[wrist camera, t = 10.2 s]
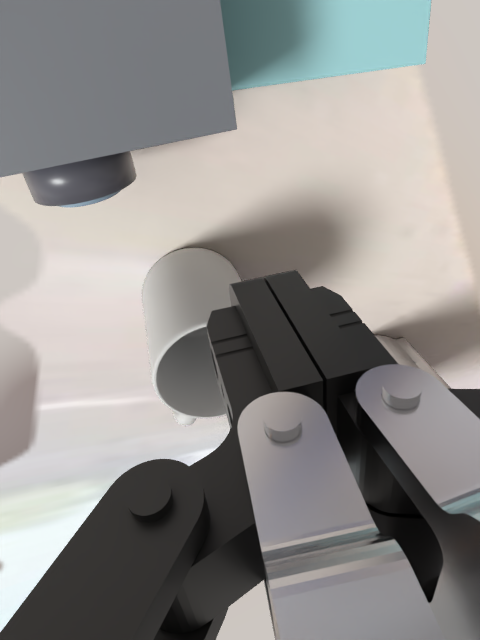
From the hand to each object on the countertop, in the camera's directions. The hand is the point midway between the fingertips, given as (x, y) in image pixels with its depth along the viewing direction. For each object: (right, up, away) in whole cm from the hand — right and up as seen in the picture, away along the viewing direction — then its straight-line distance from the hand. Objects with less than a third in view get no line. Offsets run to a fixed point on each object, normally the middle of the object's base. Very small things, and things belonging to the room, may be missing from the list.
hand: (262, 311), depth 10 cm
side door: (-3, +19, +17) cm, 25 cm away
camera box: (-10, +16, +17) cm, 25 cm away
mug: (-5, +1, +29) cm, 29 cm away
